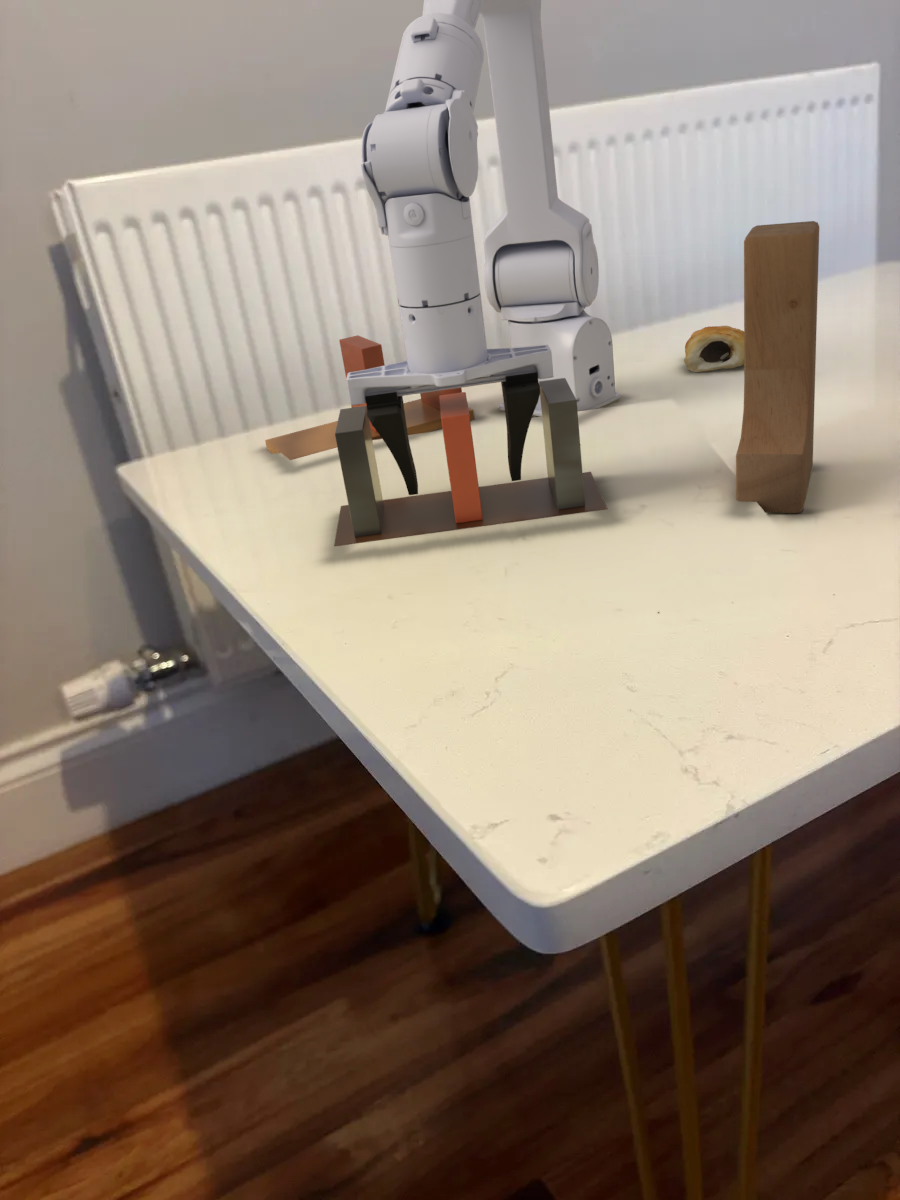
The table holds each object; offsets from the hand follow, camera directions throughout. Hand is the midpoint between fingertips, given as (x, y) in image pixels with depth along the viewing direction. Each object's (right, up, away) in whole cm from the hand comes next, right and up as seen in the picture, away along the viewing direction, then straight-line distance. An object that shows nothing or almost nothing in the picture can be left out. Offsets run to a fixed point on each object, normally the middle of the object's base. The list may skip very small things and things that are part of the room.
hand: (464, 483), depth 77 cm
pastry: (+27, +16, +30) cm, 44 cm away
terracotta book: (0, -2, +1) cm, 2 cm away
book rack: (-8, +8, +24) cm, 27 cm away
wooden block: (+23, -1, -2) cm, 23 cm away
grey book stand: (0, -3, +1) cm, 3 cm away
